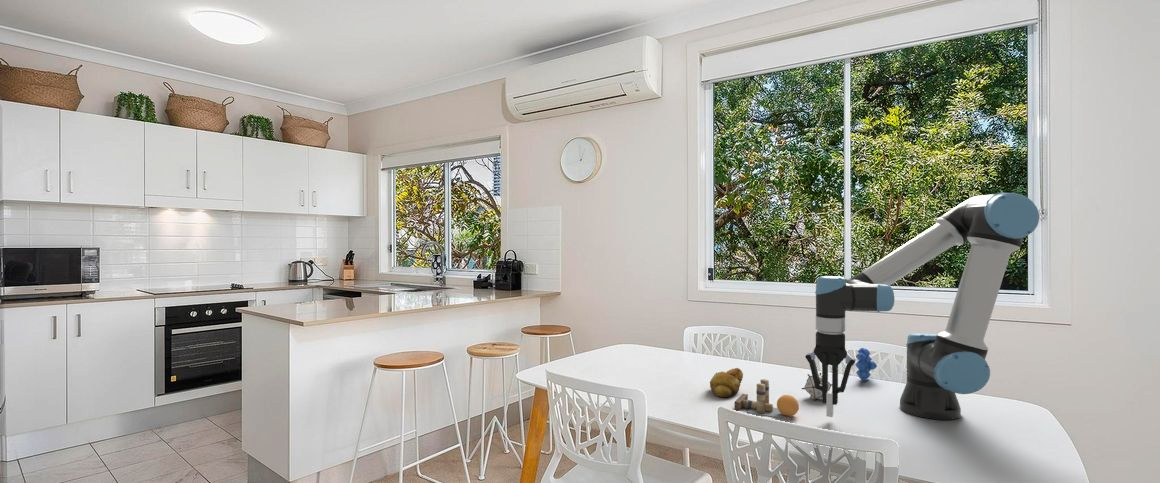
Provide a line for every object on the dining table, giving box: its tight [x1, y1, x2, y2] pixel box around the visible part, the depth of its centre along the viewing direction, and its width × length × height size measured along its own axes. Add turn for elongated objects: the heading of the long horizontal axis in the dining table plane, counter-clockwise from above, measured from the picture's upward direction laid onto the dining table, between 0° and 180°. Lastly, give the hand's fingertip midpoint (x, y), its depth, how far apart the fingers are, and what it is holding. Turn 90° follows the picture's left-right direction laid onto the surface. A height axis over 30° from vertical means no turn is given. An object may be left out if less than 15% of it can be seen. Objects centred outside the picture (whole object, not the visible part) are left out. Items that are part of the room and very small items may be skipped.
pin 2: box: [755, 382, 765, 414], centre depth 160 cm, size 2×2×8 cm
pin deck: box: [746, 406, 793, 421], centre depth 161 cm, size 12×8×1 cm, turn 58°
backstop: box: [734, 393, 749, 412], centre depth 166 cm, size 2×9×2 cm, turn 148°
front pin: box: [742, 399, 774, 412], centre depth 163 cm, size 2×2×8 cm
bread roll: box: [709, 367, 744, 398], centre depth 179 cm, size 13×10×8 cm
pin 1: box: [759, 378, 770, 404], centre depth 164 cm, size 2×2×8 cm
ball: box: [776, 394, 800, 417], centre depth 157 cm, size 6×6×6 cm
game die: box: [801, 372, 832, 402], centre depth 172 cm, size 9×8×10 cm
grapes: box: [854, 347, 878, 382], centre depth 191 cm, size 12×7×12 cm, turn 139°
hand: (829, 415), depth 152 cm, fingers closed
